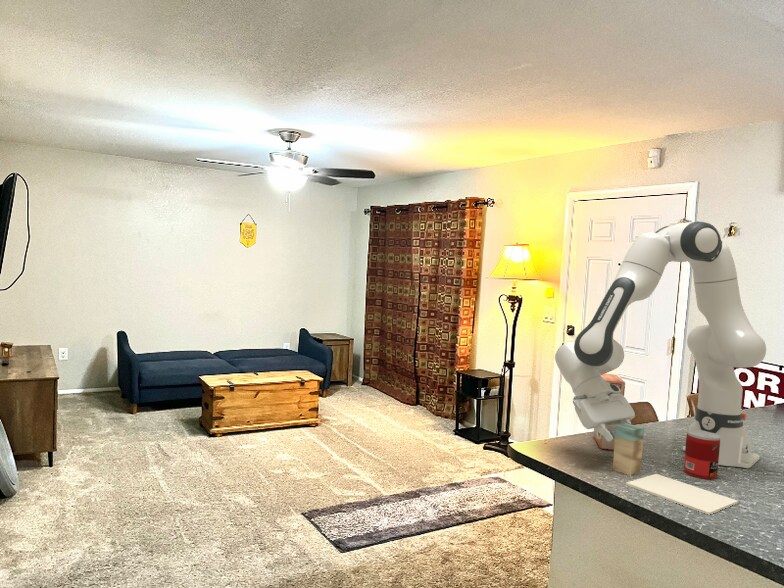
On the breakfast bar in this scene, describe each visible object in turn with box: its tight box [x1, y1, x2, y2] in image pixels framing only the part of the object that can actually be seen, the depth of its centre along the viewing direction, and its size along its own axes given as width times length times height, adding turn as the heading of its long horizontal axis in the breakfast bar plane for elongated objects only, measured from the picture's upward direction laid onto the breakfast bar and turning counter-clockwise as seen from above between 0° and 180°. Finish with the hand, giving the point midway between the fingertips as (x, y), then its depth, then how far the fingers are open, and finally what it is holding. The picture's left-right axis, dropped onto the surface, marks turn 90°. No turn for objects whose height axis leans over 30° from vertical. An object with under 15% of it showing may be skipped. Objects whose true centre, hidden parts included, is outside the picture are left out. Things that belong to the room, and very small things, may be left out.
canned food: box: [683, 430, 720, 480], centre depth 155 cm, size 8×8×11 cm
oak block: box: [612, 423, 645, 476], centre depth 154 cm, size 5×5×12 cm
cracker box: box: [592, 373, 626, 451], centre depth 179 cm, size 14×6×21 cm, turn 168°
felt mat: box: [625, 473, 739, 516], centre depth 139 cm, size 14×20×1 cm
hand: (622, 438), depth 155 cm, fingers open, 8 cm apart
